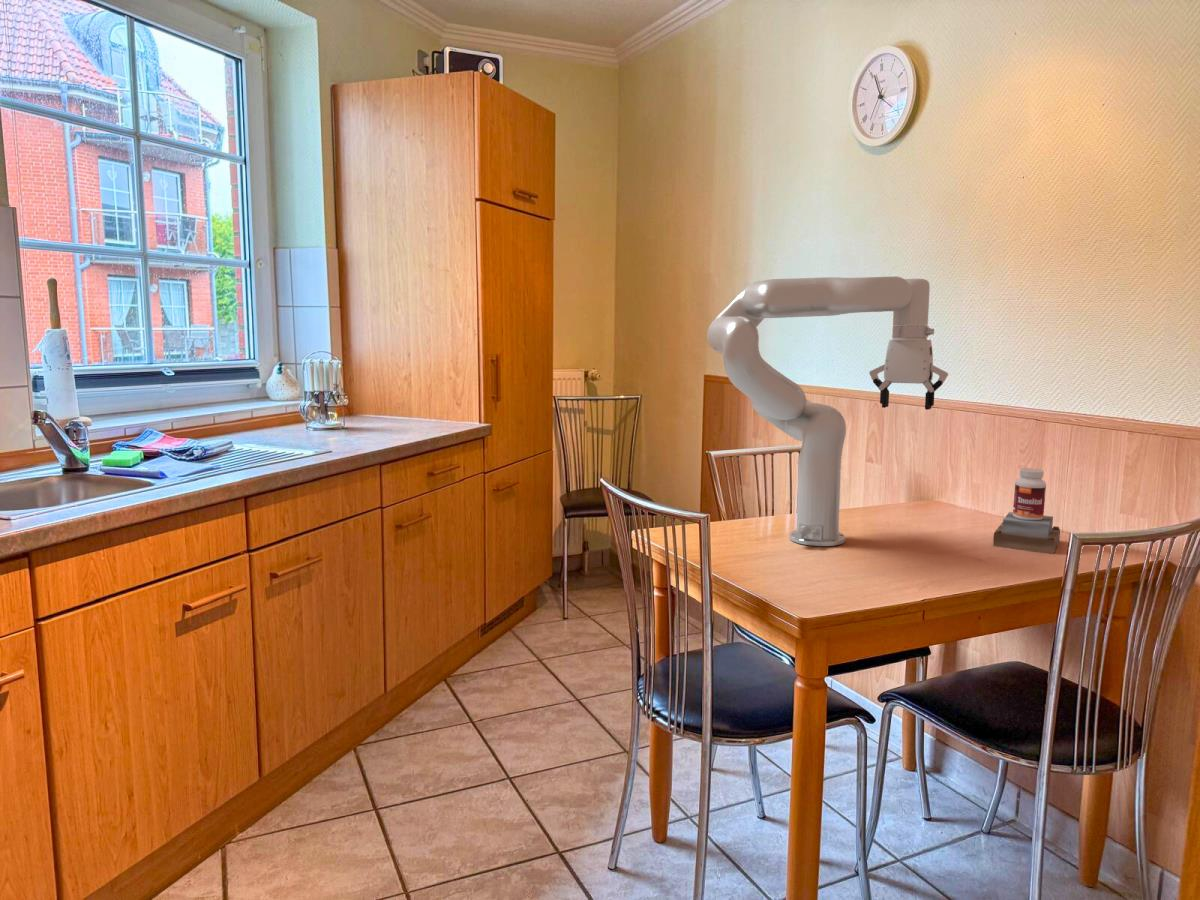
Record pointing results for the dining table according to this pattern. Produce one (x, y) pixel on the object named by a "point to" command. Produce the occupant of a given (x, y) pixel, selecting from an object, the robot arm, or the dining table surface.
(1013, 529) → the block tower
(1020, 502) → the pill bottle
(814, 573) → the dining table surface
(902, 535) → the dining table surface
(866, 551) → the dining table surface
